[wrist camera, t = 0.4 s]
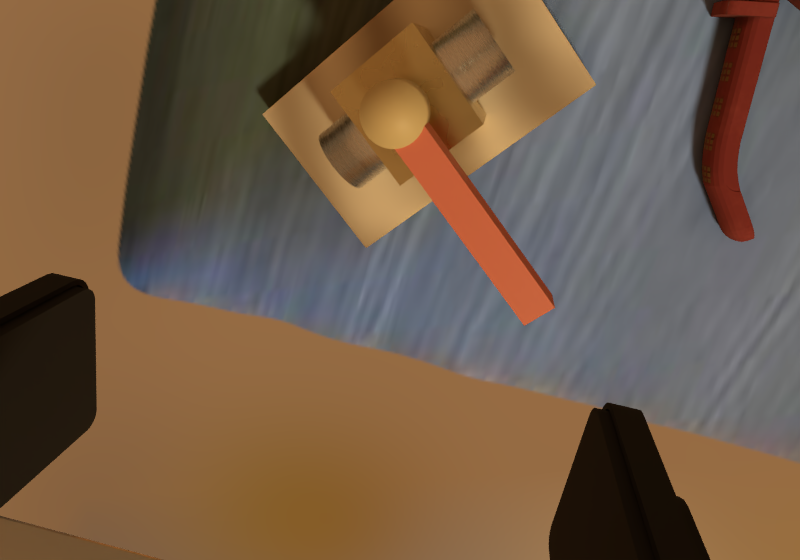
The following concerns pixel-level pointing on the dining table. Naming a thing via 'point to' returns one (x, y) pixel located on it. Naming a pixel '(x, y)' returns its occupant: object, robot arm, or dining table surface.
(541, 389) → the dining table surface
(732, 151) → the pliers
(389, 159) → the valve body
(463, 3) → the mounting board
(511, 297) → the valve lever
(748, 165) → the dining table surface
